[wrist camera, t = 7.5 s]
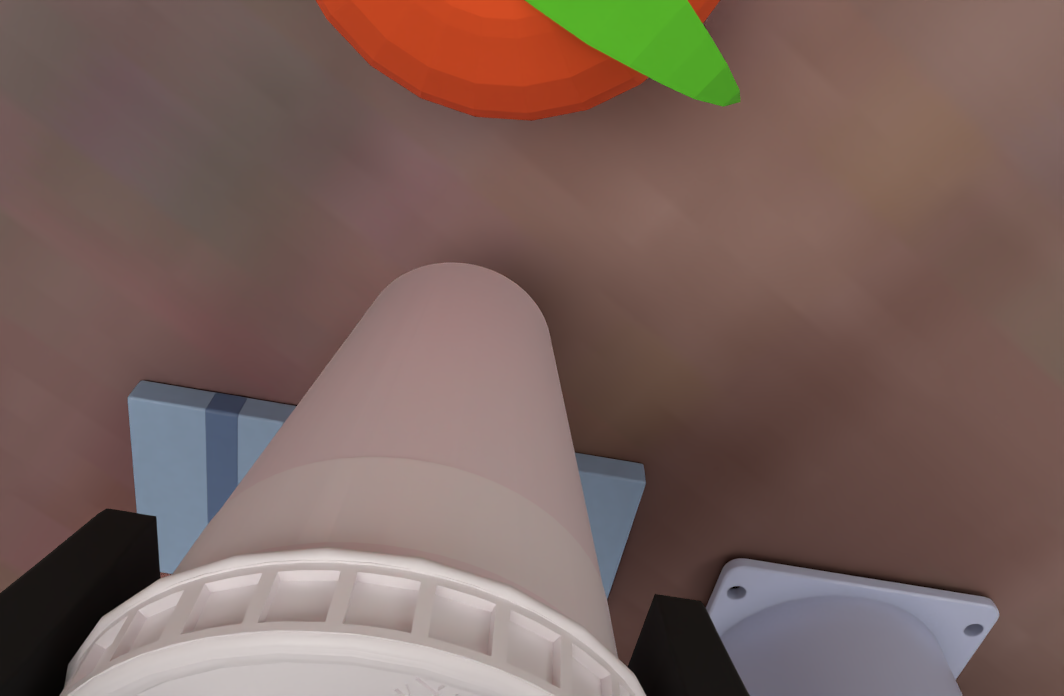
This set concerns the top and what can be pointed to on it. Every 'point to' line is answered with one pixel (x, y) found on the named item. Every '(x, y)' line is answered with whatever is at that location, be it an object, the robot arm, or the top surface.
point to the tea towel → (243, 434)
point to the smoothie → (392, 529)
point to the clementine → (536, 51)
